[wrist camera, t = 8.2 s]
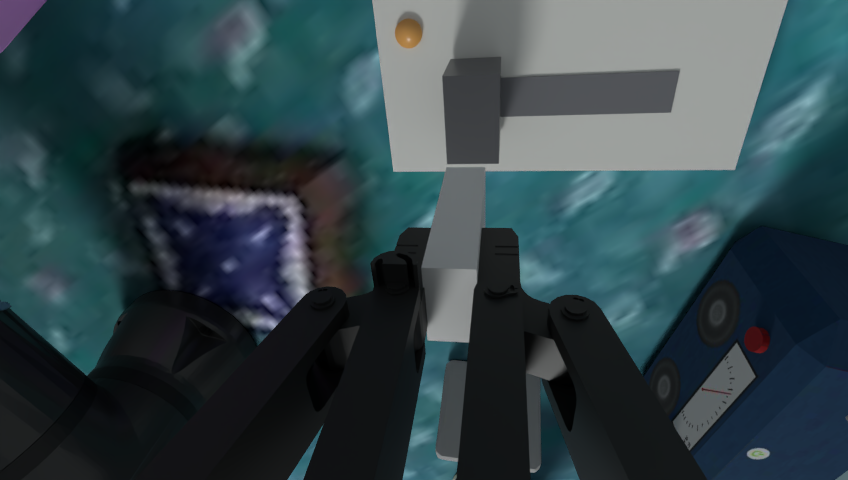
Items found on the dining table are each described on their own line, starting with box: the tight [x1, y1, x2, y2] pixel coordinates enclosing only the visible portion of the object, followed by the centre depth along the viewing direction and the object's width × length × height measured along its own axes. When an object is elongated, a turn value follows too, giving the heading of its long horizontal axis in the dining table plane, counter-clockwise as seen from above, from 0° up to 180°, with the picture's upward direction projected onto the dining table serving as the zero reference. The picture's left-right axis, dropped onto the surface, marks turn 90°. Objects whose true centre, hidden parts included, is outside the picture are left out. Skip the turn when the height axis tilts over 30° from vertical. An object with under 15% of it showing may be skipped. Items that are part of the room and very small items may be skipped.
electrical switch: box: [436, 360, 541, 473], centre depth 44 cm, size 9×5×9 cm, turn 90°
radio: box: [644, 226, 848, 480], centre depth 31 cm, size 21×9×20 cm, turn 171°
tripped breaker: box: [442, 57, 501, 164], centre depth 27 cm, size 3×5×4 cm, turn 5°
